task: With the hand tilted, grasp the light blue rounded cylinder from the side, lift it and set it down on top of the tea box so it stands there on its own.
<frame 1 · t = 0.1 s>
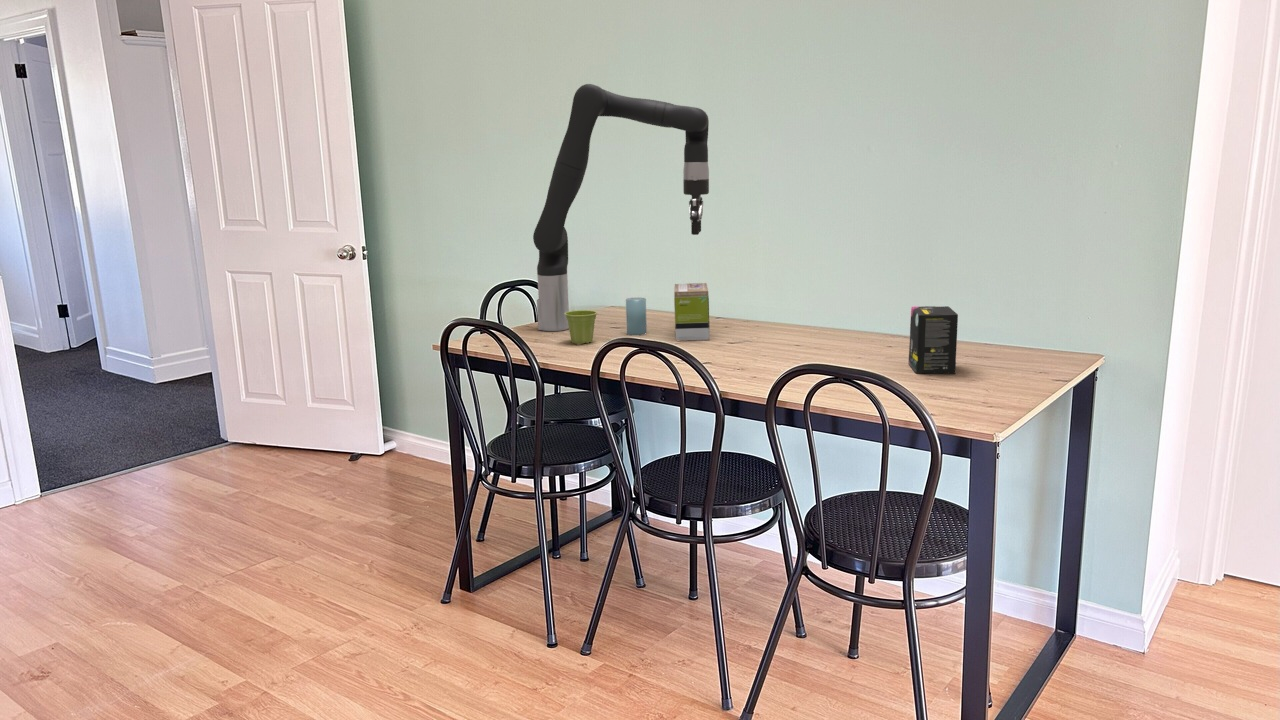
hand: (696, 233, 274), 29 cm above the table, tool pointing down, fingers open, 8 cm apart
tea box: (692, 336, 271), on the table
plant pot: (582, 342, 266), on the table
light blue rounded cylinder: (636, 333, 276), on the table
tampon box: (931, 369, 223), on the table
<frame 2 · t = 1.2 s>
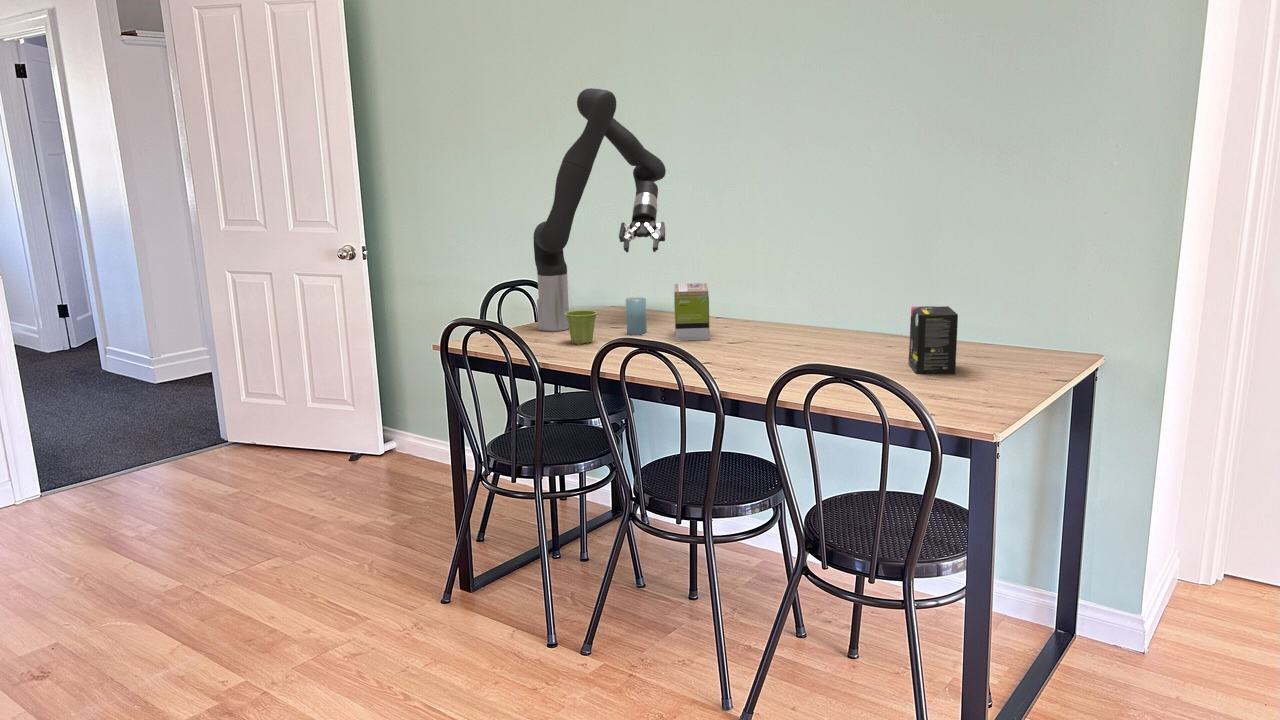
hand: (640, 250, 282), 24 cm above the table, tool tilted 45°, fingers open, 8 cm apart
nothing on the table moved.
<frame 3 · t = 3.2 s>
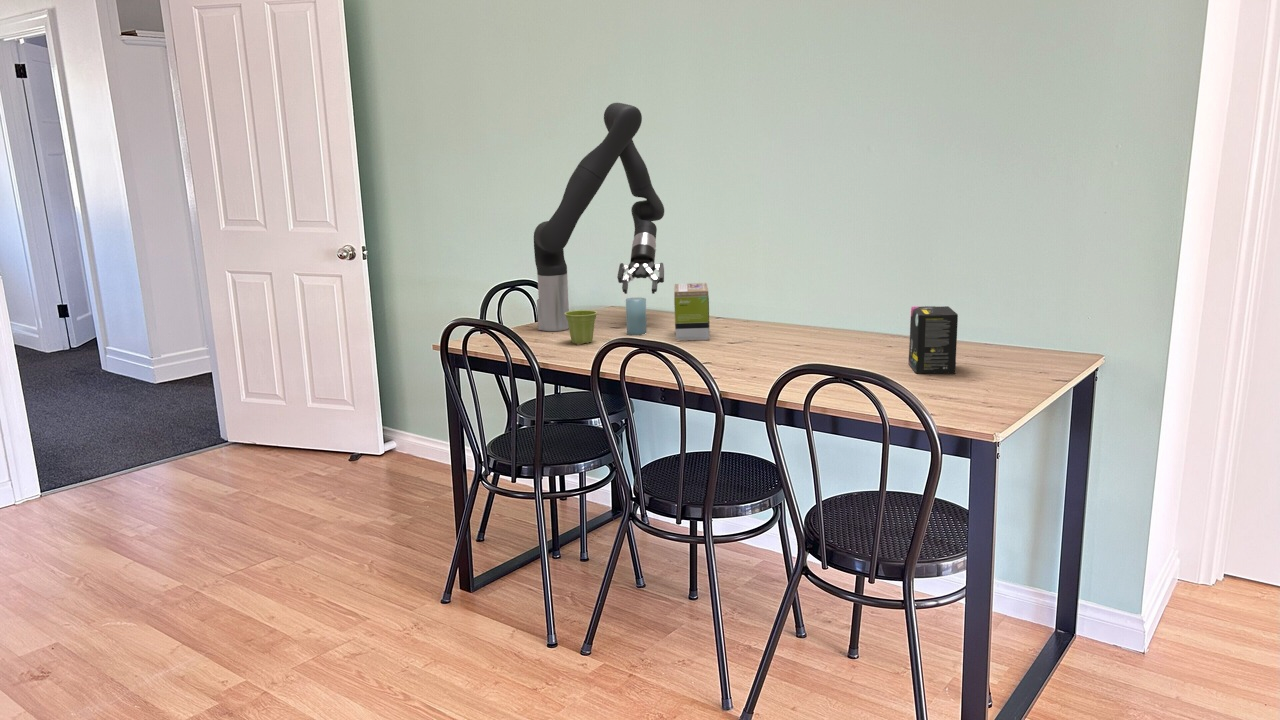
hand: (639, 292, 280), 11 cm above the table, tool tilted 45°, fingers open, 8 cm apart
nothing on the table moved.
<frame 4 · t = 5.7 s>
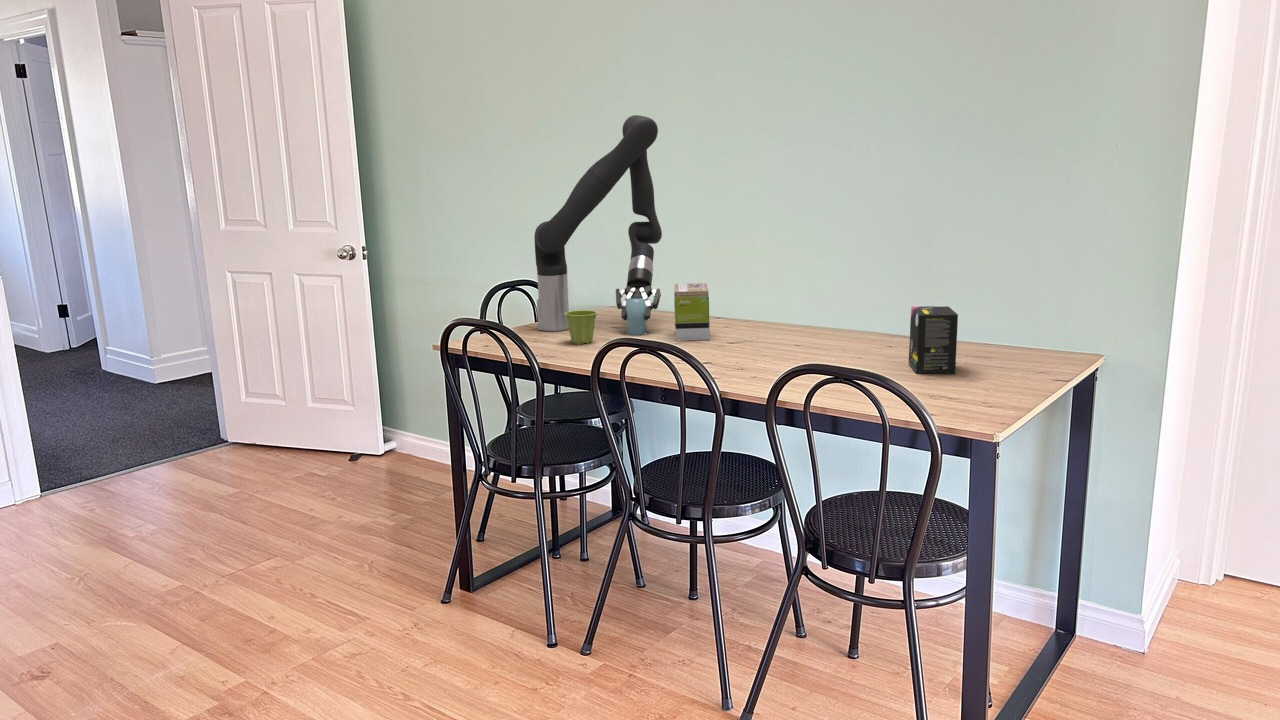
hand: (635, 318, 273), 5 cm above the table, tool tilted 45°, fingers closed on light blue rounded cylinder, 6 cm apart
light blue rounded cylinder: (636, 333, 276), on the table, touching gripper
everything else where it was.
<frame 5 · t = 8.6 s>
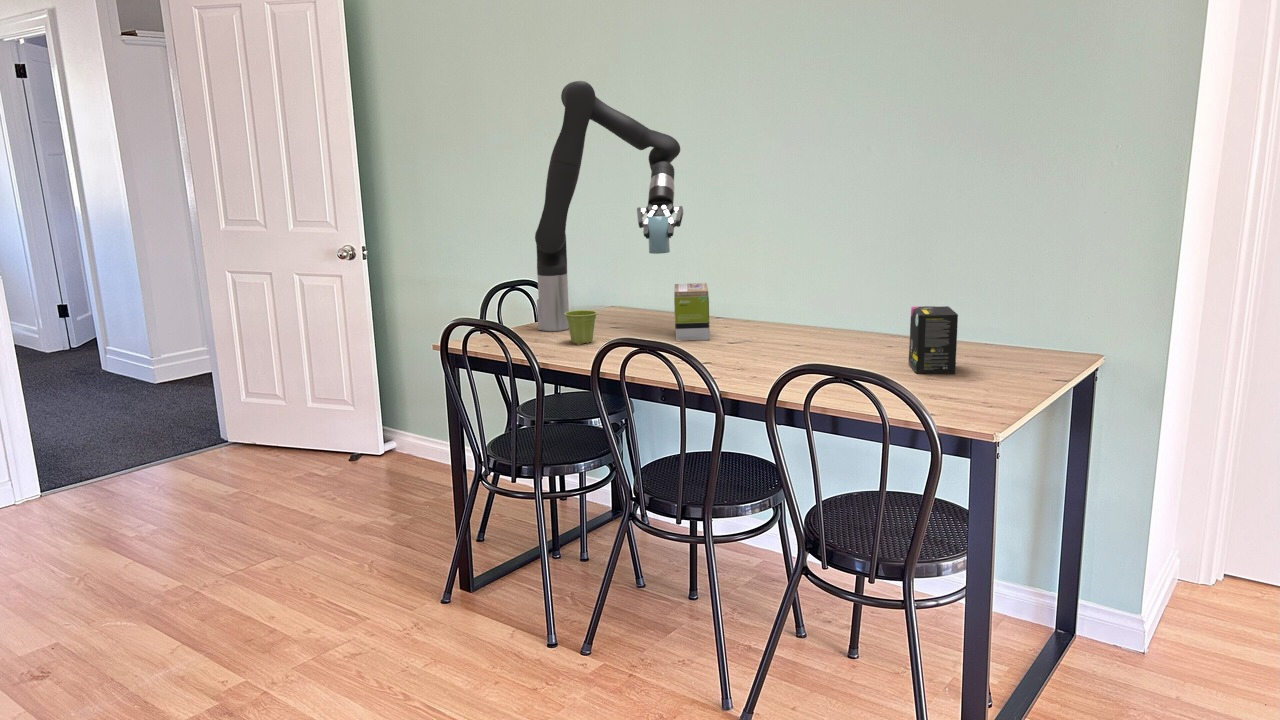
hand: (658, 236, 266), 29 cm above the table, tool tilted 45°, fingers closed on light blue rounded cylinder, 6 cm apart
light blue rounded cylinder: (659, 252, 269), point 24 cm above the table, touching gripper
everything else where it was.
when the fingers open (21 cm above the table, at t = 11.7 s): light blue rounded cylinder drops 2 cm, resting on tea box.
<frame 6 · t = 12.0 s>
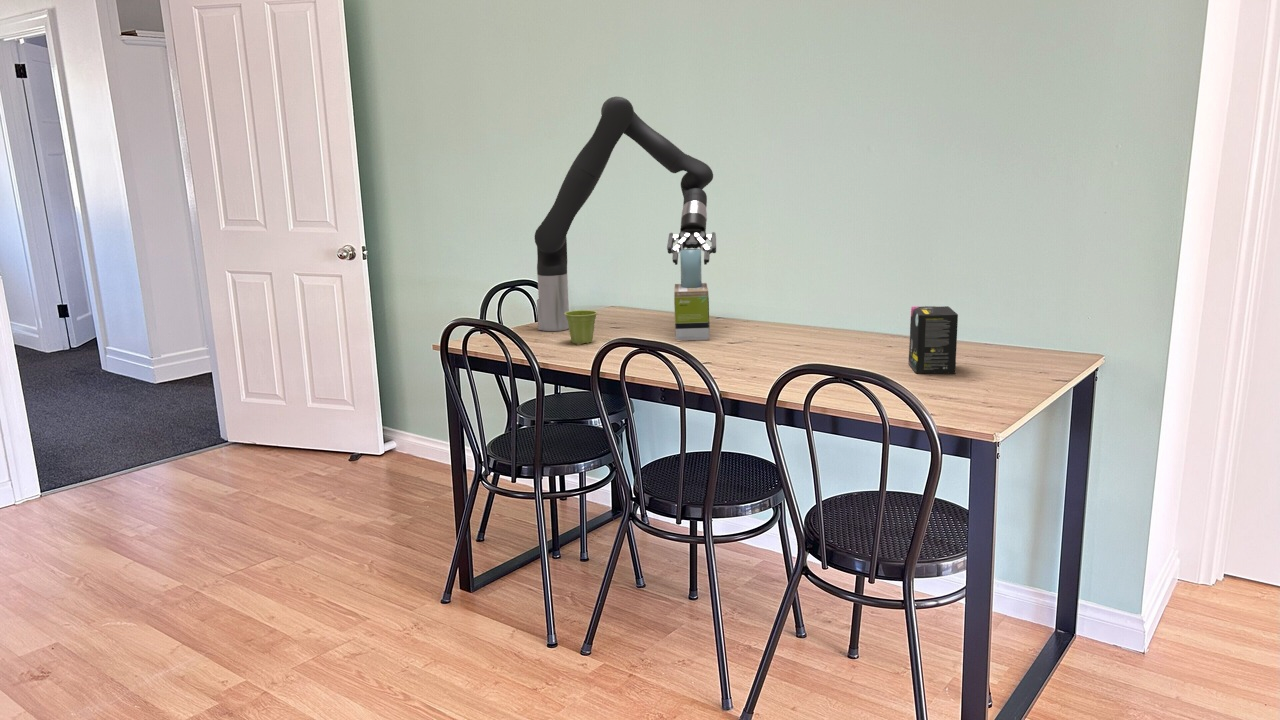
hand: (690, 262, 264), 22 cm above the table, tool tilted 45°, fingers open, 8 cm apart
tea box: (692, 336, 271), on the table, touching light blue rounded cylinder
light blue rounded cylinder: (691, 286, 267), point 15 cm above the table, touching tea box
everything else where it was.
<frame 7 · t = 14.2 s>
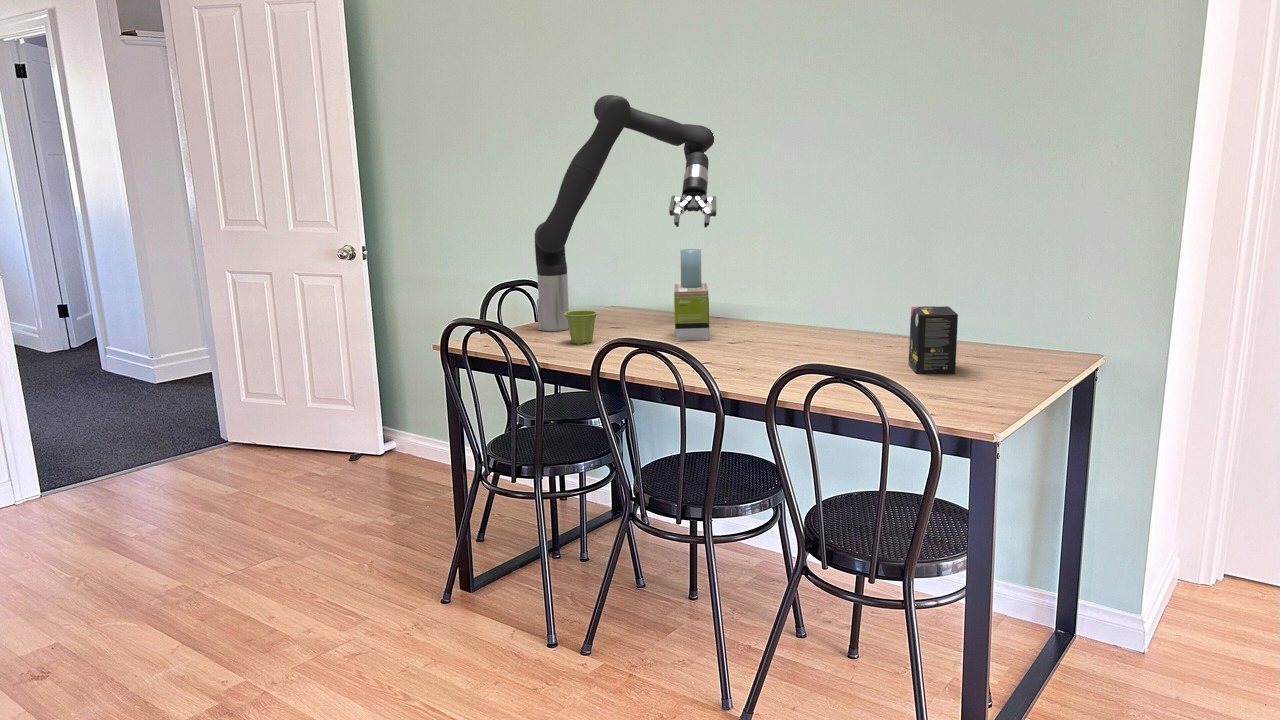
hand: (691, 225, 276), 31 cm above the table, tool tilted 40°, fingers open, 8 cm apart
nothing on the table moved.
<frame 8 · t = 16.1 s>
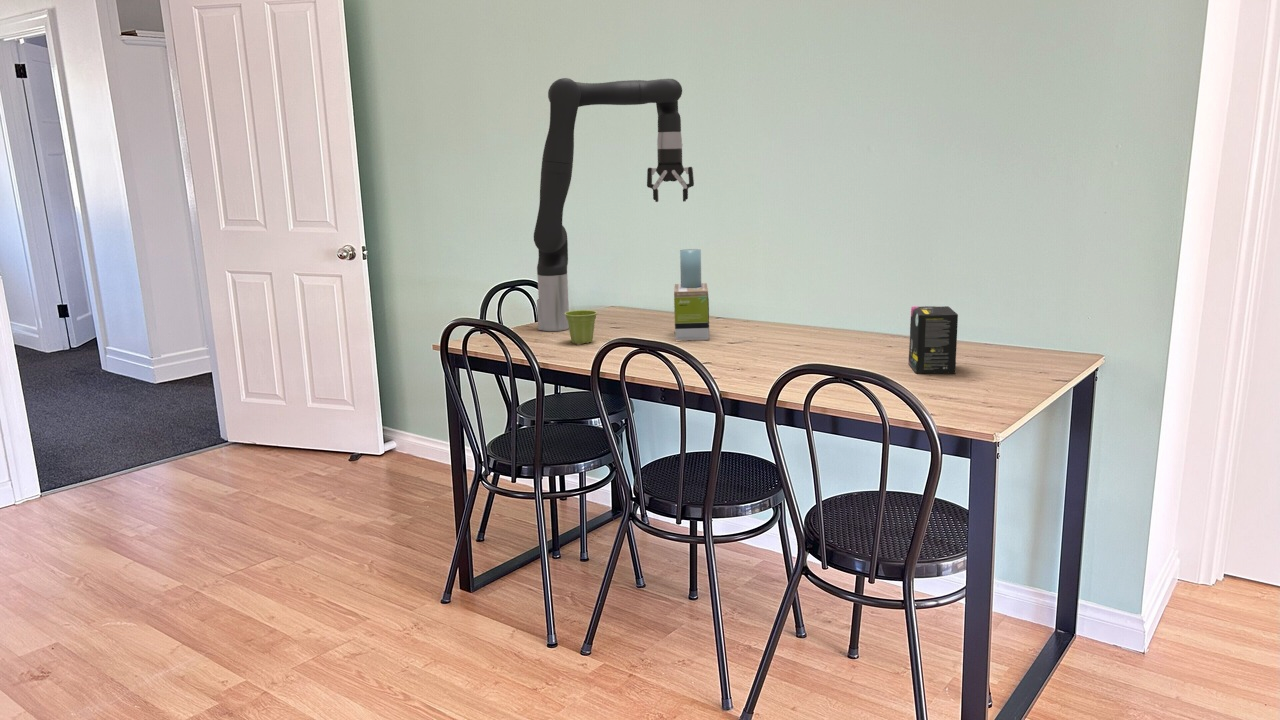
hand: (670, 201, 283), 38 cm above the table, tool pointing down, fingers open, 8 cm apart
nothing on the table moved.
at the end: light blue rounded cylinder inside the target area on the tea box (0.2 cm from its centre), point 15.0 cm above the tea box's base; light blue rounded cylinder tilted 0°; the gripper is holding nothing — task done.
